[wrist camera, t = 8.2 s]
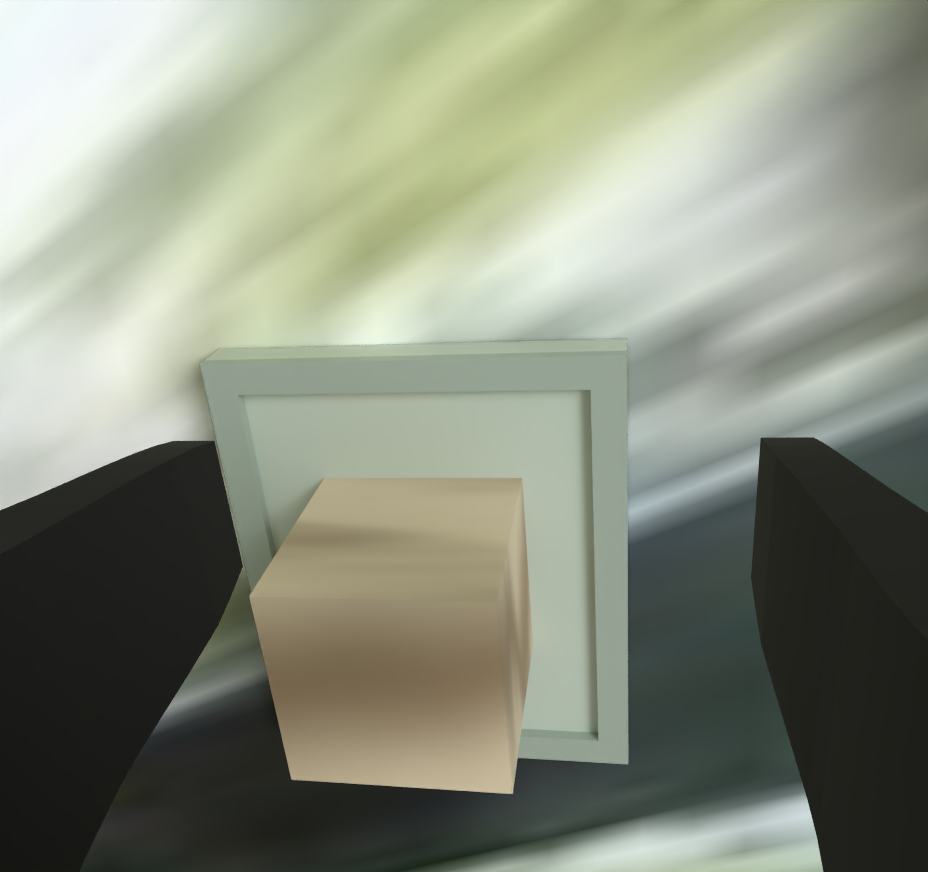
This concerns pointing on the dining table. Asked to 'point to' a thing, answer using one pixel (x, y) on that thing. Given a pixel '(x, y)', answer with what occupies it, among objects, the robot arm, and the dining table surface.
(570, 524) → the grey green picture frame
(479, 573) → the maple cube
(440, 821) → the dining table surface
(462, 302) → the dining table surface
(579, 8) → the dining table surface
